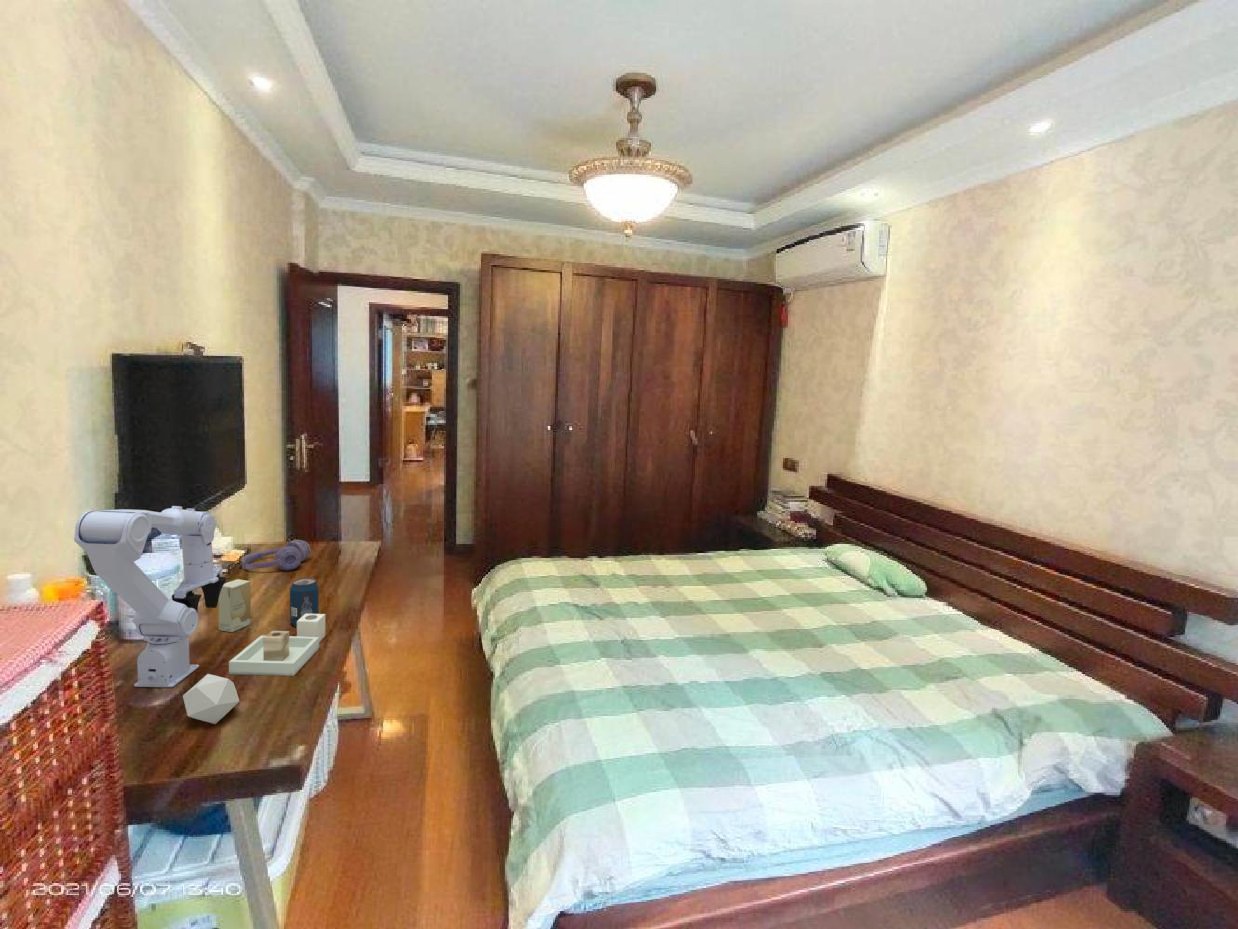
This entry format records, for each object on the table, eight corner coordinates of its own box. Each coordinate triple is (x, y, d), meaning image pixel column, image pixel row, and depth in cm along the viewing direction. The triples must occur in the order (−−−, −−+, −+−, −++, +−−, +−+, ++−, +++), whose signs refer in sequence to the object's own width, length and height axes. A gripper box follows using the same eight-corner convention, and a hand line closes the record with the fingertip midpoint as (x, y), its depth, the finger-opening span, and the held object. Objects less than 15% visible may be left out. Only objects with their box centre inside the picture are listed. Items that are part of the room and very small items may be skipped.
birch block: (281, 662, 140) (280, 638, 139) (263, 662, 139) (263, 637, 138) (289, 654, 144) (289, 630, 143) (272, 654, 143) (271, 630, 142)
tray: (293, 675, 135) (293, 663, 135) (229, 674, 134) (228, 661, 134) (319, 648, 149) (319, 637, 149) (261, 646, 148) (260, 635, 147)
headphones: (315, 556, 218) (256, 564, 214) (312, 535, 216) (252, 542, 213) (299, 572, 200) (234, 581, 196) (294, 549, 199) (229, 557, 195)
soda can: (305, 616, 167) (305, 575, 166) (324, 621, 165) (324, 579, 163) (284, 625, 161) (283, 582, 159) (303, 630, 159) (303, 587, 157)
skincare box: (232, 633, 154) (231, 588, 152) (218, 630, 155) (216, 585, 153) (252, 623, 160) (251, 580, 159) (238, 621, 161) (237, 578, 160)
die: (249, 714, 121) (241, 666, 124) (225, 716, 112) (217, 664, 115) (205, 731, 119) (198, 682, 122) (177, 734, 111) (170, 681, 114)
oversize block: (317, 644, 151) (317, 621, 151) (297, 643, 151) (296, 620, 150) (325, 635, 156) (325, 613, 156) (305, 635, 156) (305, 613, 155)
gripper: (195, 572, 133) (199, 628, 135) (233, 551, 147) (236, 602, 150) (162, 571, 133) (167, 627, 135) (204, 549, 147) (207, 600, 149)
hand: (201, 614), depth 142 cm, fingers open, 7 cm apart
